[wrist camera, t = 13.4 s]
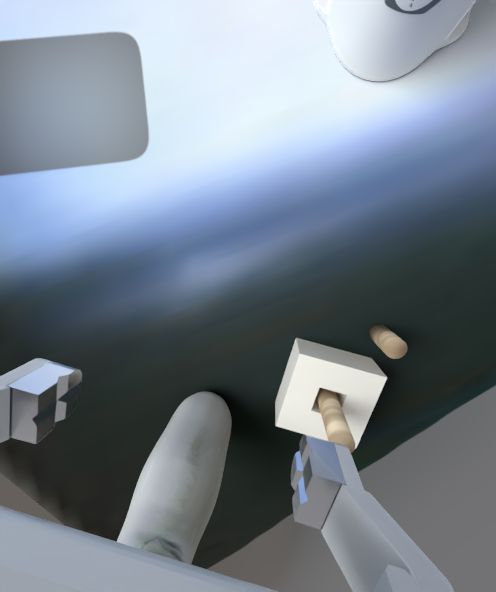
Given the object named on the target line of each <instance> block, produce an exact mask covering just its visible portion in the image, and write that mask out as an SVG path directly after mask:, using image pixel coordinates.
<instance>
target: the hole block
mask: <svg viewBox="0 0 496 592" xmlns="http://www.w3.org/2000/svg"><path fill="white" fill-rule="evenodd" d="M386 380H387V377H386V375H385V374H384V373H383V372H382V370H381V369H380V368H379V367H378V365H377V364H376V363H375V362H374V360H373V359H372V358H369V357H366V356H362V355H358V354H354V353H351V352H347V351H343V350H340V349H336V348H332V347H329V346H325V345H321V344H318V343H314V342H310V341H307V340H303V339H299V338H296V339H295V342H294V345H293V348H292V352H291V355H290V358H289V361H288V364H287V367H286V370H285V373H284V376H283V379H282V383H281V386H280V389H279V392H278V395H277V398H276V401H275V421H276V426H277V427H281V428H284V429H288V430H291V431H295V432H298V433H302V434H305V435H309V436H312V437H316V438H319V439H323V440H326V441H328V438H327V434H326V430H325V426H324V423H323V419H322V415H321V412H320V408H319V404H318V400H317V397H316V396H317V393H318V391H319V388H323V389H327V390H331V391H334V392H335V393H336V396H337V398H338V401H339V403H340V406H341V408H342V411H343V413H344V416H345V418H346V421H347V423H348V426H349V428H350V431H351V433H352V436H353V439H354V441H355V449H356V448H357V445H358V443H359V441H360V439H361V436H362V434H363V432H364V430H365V427H366V425H367V423H368V421H369V418H370V416H371V414H372V411H373V409H374V407H375V405H376V402H377V400H378V398H379V396H380V393H381V391H382V389H383V386H384V384H385V382H386Z"/></svg>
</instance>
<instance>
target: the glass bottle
mask: <svg viewBox="0 0 496 592" xmlns="http://www.w3.org/2000/svg"><path fill="white" fill-rule="evenodd" d="M231 424H232V421H231V414H230V411H229V408H228V406H227V404H226V403H225V401H224V400H223V399H222V398H221V397H220V396H218V395H217V394H215V393H212V392H198V393H196V394H194V395H192V396H190V397H188V398H187V399H185V400H184V401H183V402H182V403H181V404H180V405H179V407H178V408H177V410H176V411H175V413H174V415H173V416H172V418H171V420H170V422H169V423H168V425H167V427H166V429H165V430H164V432H163V434H162V435H161V437H160V439H159V440H158V442H157V444H156V445H155V447H154V449H153V451H152V452H151V454H150V456H149V458H148V460H147V462H146V464H145V466H144V468H143V470H142V472H141V475H140V477H139V480H138V482H137V486H136V488H135V491H134V495H133V498H132V501H131V504H130V508H129V511H128V514H127V517H126V520H125V522H124V525H123V528H122V530H121V533H120V535H119V537H118V540H117V542H119V543H122V544H125V545H129V546H132V547H135V548H138V549H142V550H145V551H148V552H151V553H154V554H158V555H161V556H164V557H168V558H171V559H174V560H177V561H181V562H184V563H187V564H190V565H191V563H192V560H193V557H194V554H195V551H196V549H197V546H198V543H199V541H200V539H201V537H202V534H203V532H204V530H205V528H206V525H207V523H208V521H209V519H210V516H211V514H212V511H213V509H214V506H215V503H216V500H217V496H218V492H219V489H220V485H221V480H222V475H223V470H224V465H225V459H226V453H227V448H228V443H229V439H230V433H231Z"/></svg>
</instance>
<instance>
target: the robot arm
mask: <svg viewBox="0 0 496 592" xmlns="http://www.w3.org/2000/svg"><path fill="white" fill-rule="evenodd" d="M476 1H477V0H313V4H314V8H315V10H316V12H317V13H318V15H319V16H320V17H321V19H322V20H323V21H324V23H325V24H326V26H327V29H328V32H329V36H330V40H331V44H332V47H333V50H334V52H335V54H336V56H337V58H338V59H339V61H340V62H341V63H342V65H343V66H344V67H345V68H346V69H347V70H348V71H350V72H351V73H352V74H354V75H356V76H358V77H360V78H362V79H366V80H370V81H388V80H392V79H396V78H398V77H401V76H403V75H405V74H407V73H409V72H411V71H412V70H414V69H415V68H416V67H418V66H419V65H420V64H421V63H422V62H423V61H424V60H425V59H426V58H427V57H429V56H430V55H431V54H432V53H433V52H434V51H436V50H437V49H439V48H442V47H444V46H447V45H449V44H451V43H453V42H454V41H456V40H457V39H459V38H460V36H461V35H462V34H463V32H464V31H465V30H466V28H467V26H468V23H469V18H470V13H471V8H472V6H473V5H474V3H475V2H476ZM81 381H82V372H81V371H80V370H78V369H75V368H72V367H68V366H65V365H62V364H59V363H56V362H52V361H48V360H45V359H42V358H37V359H34V360H32V361H30V362H28V363H26V364H24V365H22V366H20V367H18V368H16V369H14V370H12V371H10V372H8V373H6V374H4V375H2V376H0V443H1V442H3V441H5V440H8V439H9V437H11V438H15V439H19V440H23V441H26V442H30V443H34V444H37V443H38V442H39V441H40V440H41V439H42V438H43V437H45V436H46V435H47V434H48V433H49V432H50V431H52V430H53V429H54V426H55V422H57V421H60V420H63V419H65V418H66V417H67V416H68V415H70V414H71V413H72V411H73V410H74V408H75V407H76V406H77V404H78V401H79V398H80V390H79V388H78V386H77V384H78V383H79V382H81ZM299 447H300V451H298V452H297V453H295V456H294V459H293V462H292V468H291V485H292V487H293V488H294V490H295V493H294V495H293V498H292V501H293V513H294V521H296V522H299V523H302V524H305V525H308V526H311V527H314V528H317V529H320V530H322V531H321V532H322V534H323V536H324V538H325V540H326V542H327V544H328V546H329V547H330V549H331V551H332V553H333V555H334V557H335V559H336V561H337V563H338V564H339V566H340V568H341V570H342V572H343V574H344V576H345V577H346V580H347V581H348V583H349V585H350V587H351V589H352V591H353V592H454V590H453V588H452V586H451V584H450V583H449V581H448V580H447V579H446V578H445V576H444V575H443V574H442V573H441V572H440V571H439V570H438V569H437V567H436V566H435V565H434V564H433V563H432V562H431V561H430V560H429V559H428V557H427V556H426V555H425V554H424V553H423V552H422V551H421V550H420V549H419V547H418V546H417V545H416V544H415V543H414V542H413V541H412V540H411V538H410V537H409V536H408V535H407V534H406V533H405V532H404V531H403V529H402V528H401V527H400V526H399V525H398V524H397V523H396V522H395V521H394V519H393V518H392V517H391V516H390V515H389V514H388V513H387V512H386V511H385V509H384V508H383V507H382V506H381V505H380V504H379V503H378V502H377V500H376V499H375V498H374V497H373V496H372V495H371V494H370V493H369V492H367V491H364V488H363V485H362V483H361V480H360V477H359V475H358V472H357V469H356V466H355V464H354V461H353V458H352V455H351V453H350V450H349V448H348V447H347V446H346V445H343V444H339V443H335V442H330V441H326V440H323V439H319V438H316V437H312V436H308V435H305V434H303V436H302V437H301V439H300V442H299ZM0 592H278V591H275V590H272V589H269V588H266V587H262V586H259V585H256V584H253V583H249V582H246V581H243V580H239V579H236V578H233V577H230V576H226V575H223V574H220V573H217V572H213V571H210V570H207V569H204V568H200V567H197V566H194V565H190V564H187V563H184V562H181V561H177V560H174V559H171V558H168V557H164V556H161V555H158V554H154V553H151V552H148V551H145V550H142V549H138V548H135V547H132V546H129V545H125V544H122V543H119V542H116V541H113V540H109V539H106V538H103V537H100V536H96V535H93V534H90V533H87V532H83V531H80V530H77V529H74V528H71V527H67V526H64V525H61V524H58V523H54V522H51V521H48V520H44V519H41V518H38V517H35V516H32V515H29V514H25V513H22V512H19V511H16V510H12V509H9V508H6V507H2V506H0Z"/></svg>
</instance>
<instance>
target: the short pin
mask: <svg viewBox="0 0 496 592" xmlns="http://www.w3.org/2000/svg"><path fill="white" fill-rule="evenodd" d="M369 336H370V338H371V339H372V340H373V341H374V342H375V343H376V344H377V346H378V347H379V348H380V349H381V350H382V351H383V352H384V353H385V354H386V355H387V356H388V357H390V358H393V359H398V358H401V357H402V356H404V355H405V354H406V352H407V344H406V343H405V342H404V341H403V340H402V339H401V338H399V337H398V336H397V335H396V334H394V333H393V332H392V331H391V330H389V329H388V328H387V327H386V326H384V325H382V324H377V325H374V326H373V327H372V328H371V329H370V331H369Z"/></svg>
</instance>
